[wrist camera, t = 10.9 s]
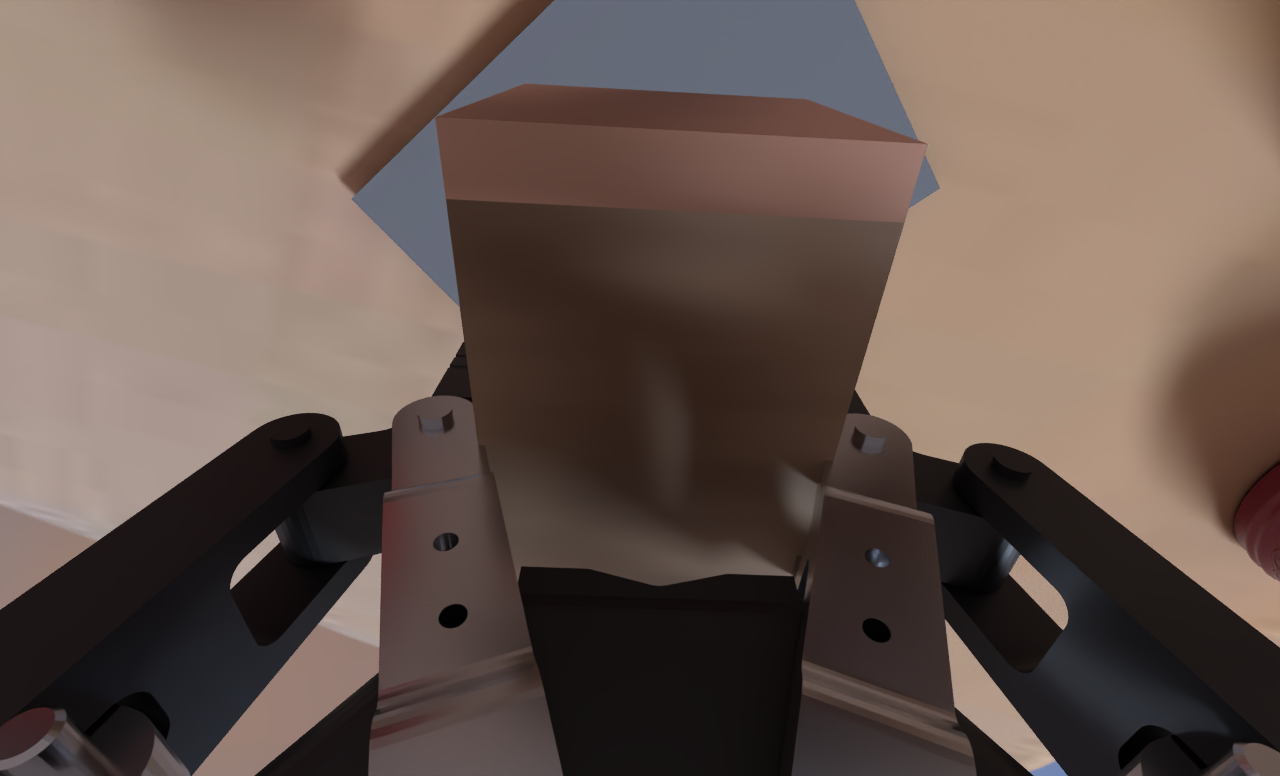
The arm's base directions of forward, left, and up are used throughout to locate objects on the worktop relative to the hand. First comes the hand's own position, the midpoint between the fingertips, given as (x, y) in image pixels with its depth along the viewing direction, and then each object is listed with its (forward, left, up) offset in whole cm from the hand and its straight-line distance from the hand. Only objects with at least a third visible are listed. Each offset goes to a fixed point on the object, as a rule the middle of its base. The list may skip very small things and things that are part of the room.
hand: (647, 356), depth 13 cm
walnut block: (+4, +5, +2) cm, 7 cm away
